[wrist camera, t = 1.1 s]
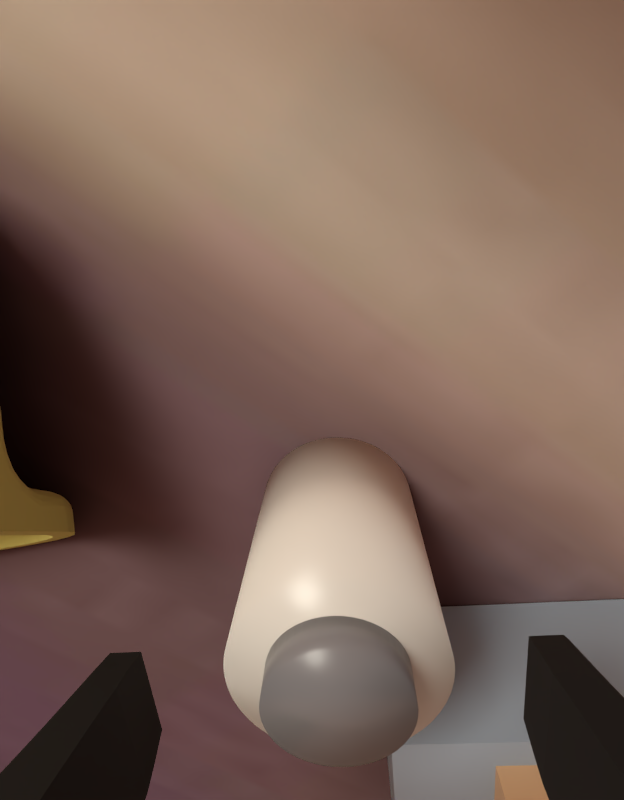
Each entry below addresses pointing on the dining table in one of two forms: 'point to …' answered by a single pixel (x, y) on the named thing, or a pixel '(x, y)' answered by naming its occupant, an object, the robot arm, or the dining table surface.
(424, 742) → the block
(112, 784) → the robot arm
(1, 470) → the plastic component
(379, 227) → the dining table surface
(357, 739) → the cream capped bottle
